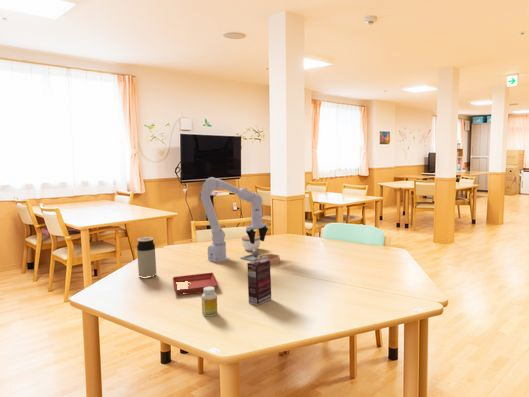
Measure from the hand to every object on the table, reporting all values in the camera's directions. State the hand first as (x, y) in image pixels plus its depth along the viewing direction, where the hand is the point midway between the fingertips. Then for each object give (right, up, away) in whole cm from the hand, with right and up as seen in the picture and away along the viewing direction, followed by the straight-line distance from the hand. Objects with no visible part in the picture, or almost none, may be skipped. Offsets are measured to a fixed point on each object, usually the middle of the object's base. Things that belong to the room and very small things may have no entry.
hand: (257, 242), depth 215 cm
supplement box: (+2, -16, -61) cm, 63 cm away
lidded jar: (-4, -7, +19) cm, 20 cm away
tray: (-2, -9, +1) cm, 9 cm away
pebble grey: (+5, -9, -8) cm, 13 cm away
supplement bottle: (-16, -18, -71) cm, 75 cm away
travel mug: (-51, -13, -26) cm, 59 cm away
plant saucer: (-26, -15, -42) cm, 52 cm away
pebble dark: (-1, -8, +4) cm, 9 cm away
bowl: (+6, -10, -7) cm, 13 cm away
